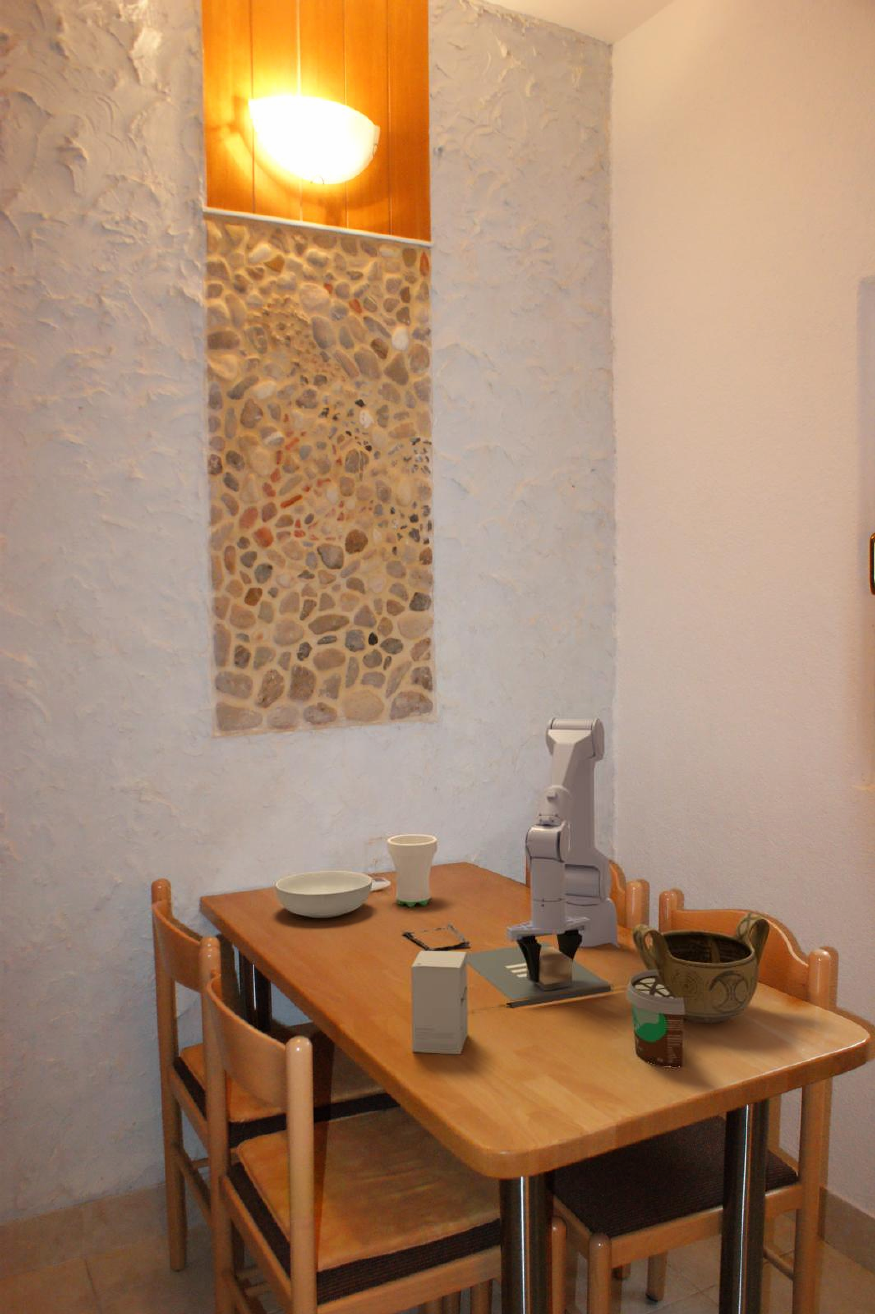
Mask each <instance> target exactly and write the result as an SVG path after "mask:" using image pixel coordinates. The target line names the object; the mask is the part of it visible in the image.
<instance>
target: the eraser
mask: <svg viewBox="0 0 875 1314" xmlns="http://www.w3.org/2000/svg"><path fill="white" fill-rule="evenodd" d="M526 971H527V977H528V978H529V979H530V976H529V971H528V967H527V964H526ZM530 980H531V979H530ZM533 982H534V981H533ZM534 983H536V984H537V985H538V986H540V987H541V988H542V989H544V990H545V991H546V990H552V989H558V988H564V987H570V986H572V959H571V958H569V957H568V956H566V955H565V954H563V953H562V952H560V951H559V949H557V948H556V947H554V946H553V947H546V948H541V951H540V958H539V982H534Z"/></svg>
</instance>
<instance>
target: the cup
mask: <svg viewBox="0 0 875 1314" xmlns="http://www.w3.org/2000/svg"><path fill="white" fill-rule="evenodd" d="M386 842H387V843H386V845H387V852H388V854H389V855H390V857H391V861H392V863H393V866H394V869H395V875H396V876H395V877H396V886H397V887H396V889H395V890H396V891H395V897H396V902H397V905H402V906H403V905H407V907H409V908H412V907H414V906H415V905H416V904H417V903H418V905H421V906H426V905H427V904H428V902H429V901H430V899H431V895H432V894H431V887H430V875H431V868H432V863H433V861H434V857H435V855H436V852H437V851H438V839H437V838H436V837H435V836H433V835H430V834H417V833H416V834H415V833H414V834H413V833H412V834H411V833H410V834H401V835H395V836H392V837H389V838H388V839H387V841H386Z"/></svg>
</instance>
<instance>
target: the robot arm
mask: <svg viewBox="0 0 875 1314" xmlns="http://www.w3.org/2000/svg"><path fill="white" fill-rule="evenodd" d="M545 743H546V746H547V748H548V751H549V755H550V756H552V760H551V768H550V776H549V784H548V787H546V788H545V789H543V790H542V791H541V793H540V796H539V800H538V805H537V809H536V814H535V817H534V822H533V825H532V827H528V828H527V830H526V832H525V837H524V851H525V852H524V853H525V856H526V860H527V861H526V863H527V870H528V871H530V873H529V874H530V911H531V915H530V916H531V917H530V918H531V919H530V921H526V922H523V923H520V924H517V925H512V926H506V939H507V940H508V941H509V942H510V943H512V942H513V943H514V942H516V943H517V944H518V945H517V946H519V947H520V949H521V951H522V953H523V955H524V958H525V961H526V964H527V967H528V971H529V976H530V979H531V980H532V981H534V982H539V958H540V951H541V946H542V945H540V944H539V943H540V942H538V939H536V938H539V937H546V936H553V935H556V939H557V945H558V950H559V951H560V952H562V953H563V954H565V955H566V956H568V957H569V958H571V959H572V962H573V960H574V959H575V957H576V954H577V951H578V950H579V948H580V947H581V948H583V947H584V948H591V947H596V946H601V945H605V944H610V943H611V944H612V945H614V946H616V947H617V948H620V947H621V946H620V945H619V944H618V943H619V942H618V913H617V908H616V905H615V902H614V901H613V900H612V899H611V898H610V894H611V892H612V891H611V890H612V872H611V865H610V860H609V857H607V855H606V854H604V853H602V852H601V851H600V850H599V849H597V848H596V845H595V842H596V841H595V767H596V763H597V762H599V761H602V760H603V759H604V755H605V727H604V723H603V722H602V721H601V719H600V718H599V717H598V718H597V717H595V718H558V717H557V718H556V717H550V719H549V720H548V721H547V723H546V727H545Z"/></svg>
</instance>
